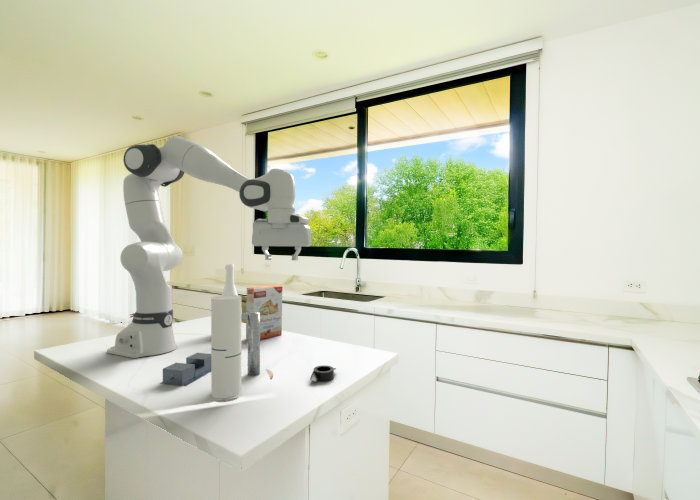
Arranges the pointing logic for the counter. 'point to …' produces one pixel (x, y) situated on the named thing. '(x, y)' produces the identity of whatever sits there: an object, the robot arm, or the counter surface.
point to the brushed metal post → (253, 342)
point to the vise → (187, 370)
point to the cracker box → (266, 309)
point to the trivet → (270, 373)
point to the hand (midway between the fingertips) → (281, 260)
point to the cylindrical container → (225, 346)
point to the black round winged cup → (323, 374)
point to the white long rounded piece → (230, 283)
